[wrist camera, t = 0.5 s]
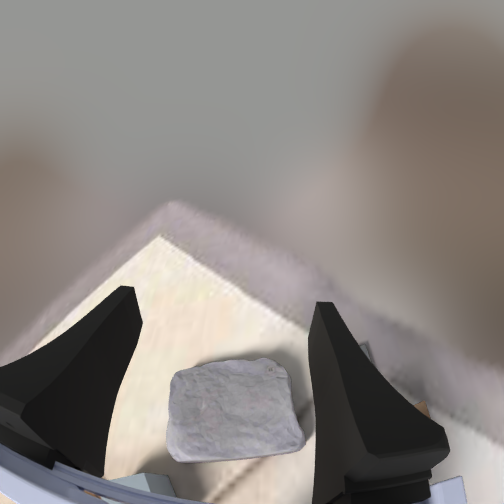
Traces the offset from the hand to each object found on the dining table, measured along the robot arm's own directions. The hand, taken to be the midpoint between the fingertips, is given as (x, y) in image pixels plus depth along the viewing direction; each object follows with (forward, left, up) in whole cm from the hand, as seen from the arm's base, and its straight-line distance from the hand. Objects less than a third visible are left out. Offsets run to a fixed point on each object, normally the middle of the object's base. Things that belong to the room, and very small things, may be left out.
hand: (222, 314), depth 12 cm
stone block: (+1, +3, -19) cm, 19 cm away
